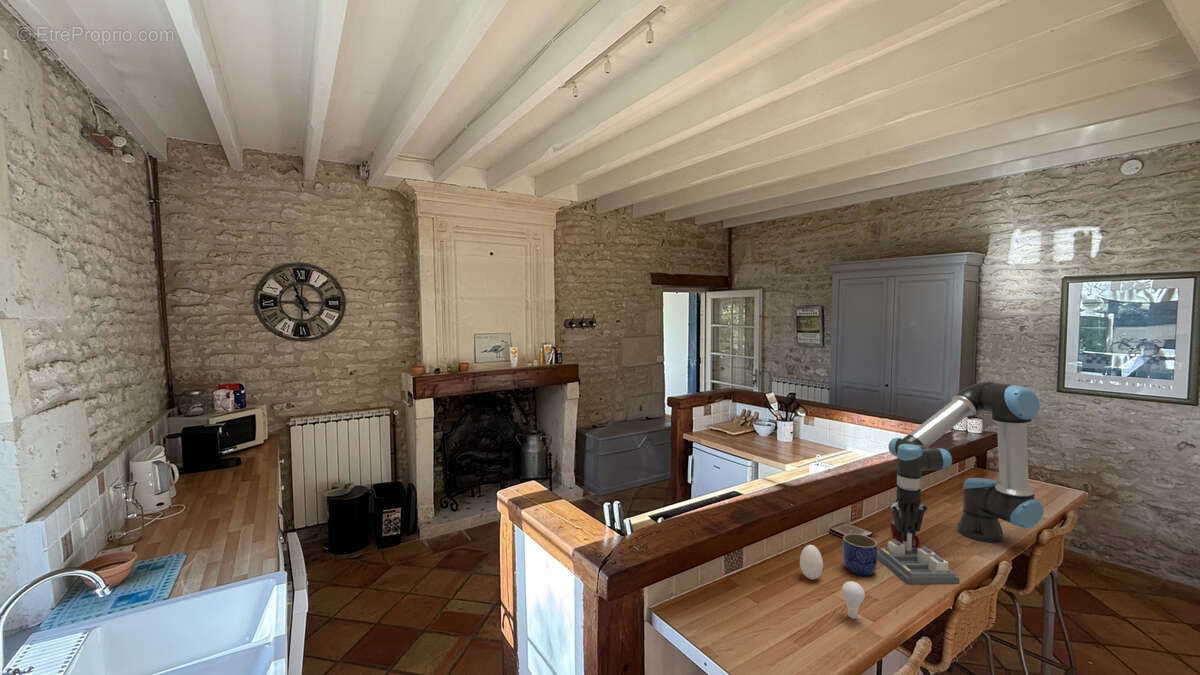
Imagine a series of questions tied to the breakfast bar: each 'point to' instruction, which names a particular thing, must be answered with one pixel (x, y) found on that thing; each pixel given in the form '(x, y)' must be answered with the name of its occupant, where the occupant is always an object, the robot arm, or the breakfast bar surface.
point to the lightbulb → (853, 597)
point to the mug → (897, 535)
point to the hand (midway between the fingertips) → (907, 549)
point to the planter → (859, 553)
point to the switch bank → (914, 568)
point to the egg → (811, 562)
